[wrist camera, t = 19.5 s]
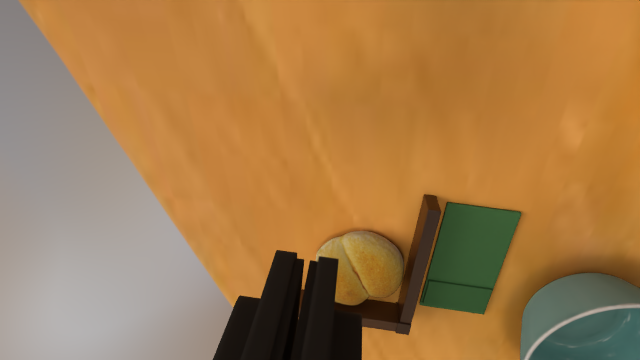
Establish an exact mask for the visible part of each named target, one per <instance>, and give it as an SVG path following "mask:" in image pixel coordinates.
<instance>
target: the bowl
mask: <svg viewBox="0 0 640 360" xmlns="http://www.w3.org/2000/svg"><path fill="white" fill-rule="evenodd" d="M520 360H640V288H638V287H636V286H634V285H632V284H630V283H629V282H627V281H625V280H623V279H620V278H618V277H615V276H612V275H607V274H602V273H580V274H574V275H569V276H566V277H562V278H560V279H557V280H555V281H553V282H551V283H549V284H547V285H546V286H544V287H543V288H541V289H540V290H539V291H537V292H536V293H535V294H534V295H533V297H532V298H531V299H530V300H529V302H528V303H527V305H526V307H525V309H524V312H523V317H522V330H521V347H520Z"/></svg>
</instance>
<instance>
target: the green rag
mask: <svg viewBox="0 0 640 360" xmlns="http://www.w3.org/2000/svg"><path fill="white" fill-rule="evenodd" d="M520 216H521V212H518V211H511V210H503V209H496V208H489V207H481V206H474V205H466V204H459V203H451V202H447V205H446V208H445V212H444V216H443V219H442V223H441V227H440V230H439V234H438V238H437V241H436V245H435V249H434V252H433V256H432V260H431V263H430V267H429V270H428V274H427V278H426V281H425V285H424V289H423V292H422V296H421V300H420V305H423V306H430V307H437V308H444V309H450V310H457V311H464V312H471V313H478V314H484V312H485V310H486V307H487V304H488V301H489V299H490V296H491V293H492V291H493V288H494V285H495V283H496V280H497V277H498V275H499V272H500V269H501V267H502V264H503V261H504V259H505V256H506V253H507V251H508V248H509V245H510V243H511V240H512V237H513V235H514V232H515V229H516V227H517V224H518V221H519V219H520Z"/></svg>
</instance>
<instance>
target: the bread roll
mask: <svg viewBox="0 0 640 360" xmlns="http://www.w3.org/2000/svg"><path fill="white" fill-rule="evenodd" d="M319 256H322V257H329V258H336V259H339V263H338V273H337V284H336V294H335V301H336V302H338V303H341V304H346V305H358V304H360V303H362V302H363V301H365V300H366V299H367V298H368V297H369V296H373V297H378V298H383V297H387V296H389V295H391V294H393V293H394V292H395V291H396V290H397V289H398V288H399V286H400V284H401V282H402V280H403V274H404V261H403V258H402V255H401V253H400V251H399V250H398V249H397V247H396V246H395V245H394V244H392V243H391V242H390V241H389V240H387V239H386V238H384V237H382V236H380V235H378V234H376V233H373V232H368V231H354V232H349V233H347V234H345V235H343V236H341V237H336V238H333V239H331V240H329V241H328V242H326V243H325V244H324V245H323V246H322V247H321V248H320V249H319V250H318V252H317V256H316V261H318V258H319Z"/></svg>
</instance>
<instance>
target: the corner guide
mask: <svg viewBox="0 0 640 360" xmlns="http://www.w3.org/2000/svg"><path fill="white" fill-rule="evenodd" d="M440 215H441V209H440V206H439V203H438V200H437V197H436V196H432V195H424V197H423V201H422V205H421V209H420V213H419V217H418V221H417V226H416V230H415V234H414V238H413V242H412V246H411V250H410V254H409V259H408V263H407V267H406V271H405V275H404V279H403V283H402V287H401V292H400V296H399V300H398V302H396V304H395V303H388V302H381V301H375V300H368V299H366V300H365V301H363V302H362V303H360V304H358V305H346V304H341V303H338V302H336V301H335V304H334V310H341V311H347V312H354V313H361V314H362V326H363V327H369V328H376V329H383V330H389V331H396V333H400V334H406V335H409V332H410V328H411V322H412V318H413V315H414V311H415V307H416V303H417V300H418V296H419V292H420V289H421V285H422V281H423V278H424V274H425V270H426V266H427V263H428V259H429V255H430V252H431V248H432V244H433V240H434V237H435V233H436V229H437V226H438V222H439V218H440ZM303 294H304V290H301V297H300V307H299V314H300V309H301V304H302V299H303Z"/></svg>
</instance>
